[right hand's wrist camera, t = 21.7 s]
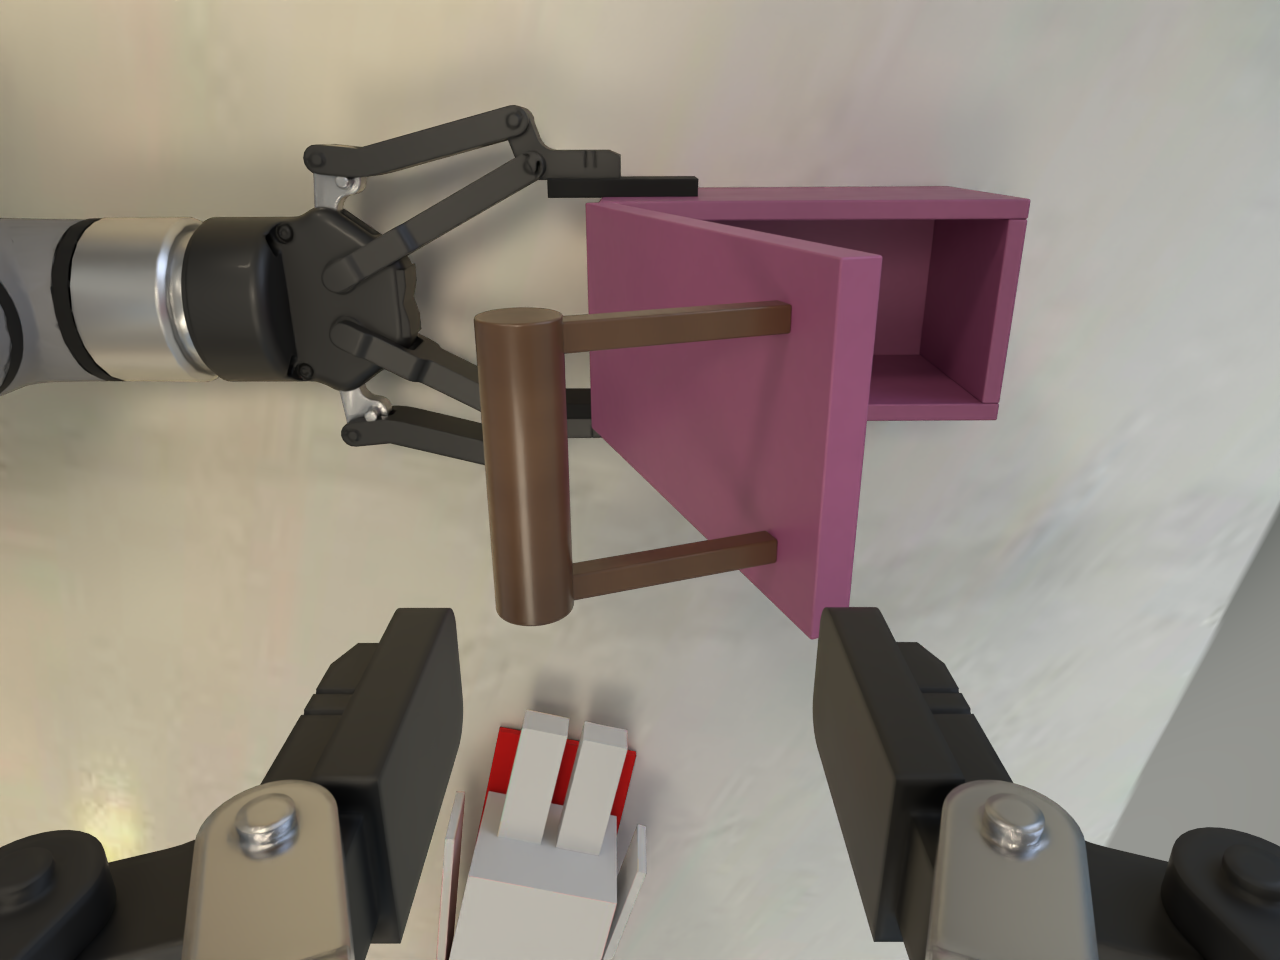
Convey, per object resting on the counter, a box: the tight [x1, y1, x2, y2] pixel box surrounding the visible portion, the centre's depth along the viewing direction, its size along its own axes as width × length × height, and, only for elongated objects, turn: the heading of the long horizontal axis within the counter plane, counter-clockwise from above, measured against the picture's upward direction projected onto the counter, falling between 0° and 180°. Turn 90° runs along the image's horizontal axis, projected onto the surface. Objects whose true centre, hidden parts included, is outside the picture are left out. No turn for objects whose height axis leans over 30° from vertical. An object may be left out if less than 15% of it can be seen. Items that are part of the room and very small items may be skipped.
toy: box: [436, 709, 646, 960], centre depth 56 cm, size 12×13×30 cm
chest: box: [600, 186, 1030, 421], centre depth 41 cm, size 18×9×10 cm, turn 90°
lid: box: [474, 202, 882, 639], centre depth 27 cm, size 18×9×8 cm
